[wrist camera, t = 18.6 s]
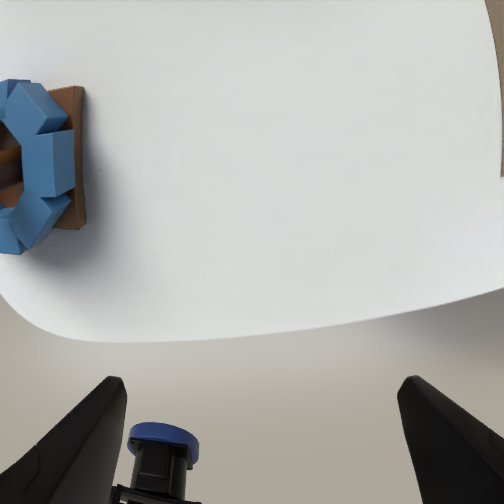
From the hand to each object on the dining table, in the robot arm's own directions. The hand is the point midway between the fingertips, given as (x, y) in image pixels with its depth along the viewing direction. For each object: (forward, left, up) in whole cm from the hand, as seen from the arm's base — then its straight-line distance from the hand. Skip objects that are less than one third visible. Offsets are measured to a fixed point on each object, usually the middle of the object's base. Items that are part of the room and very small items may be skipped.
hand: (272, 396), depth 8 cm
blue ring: (+5, +16, -11) cm, 20 cm away
